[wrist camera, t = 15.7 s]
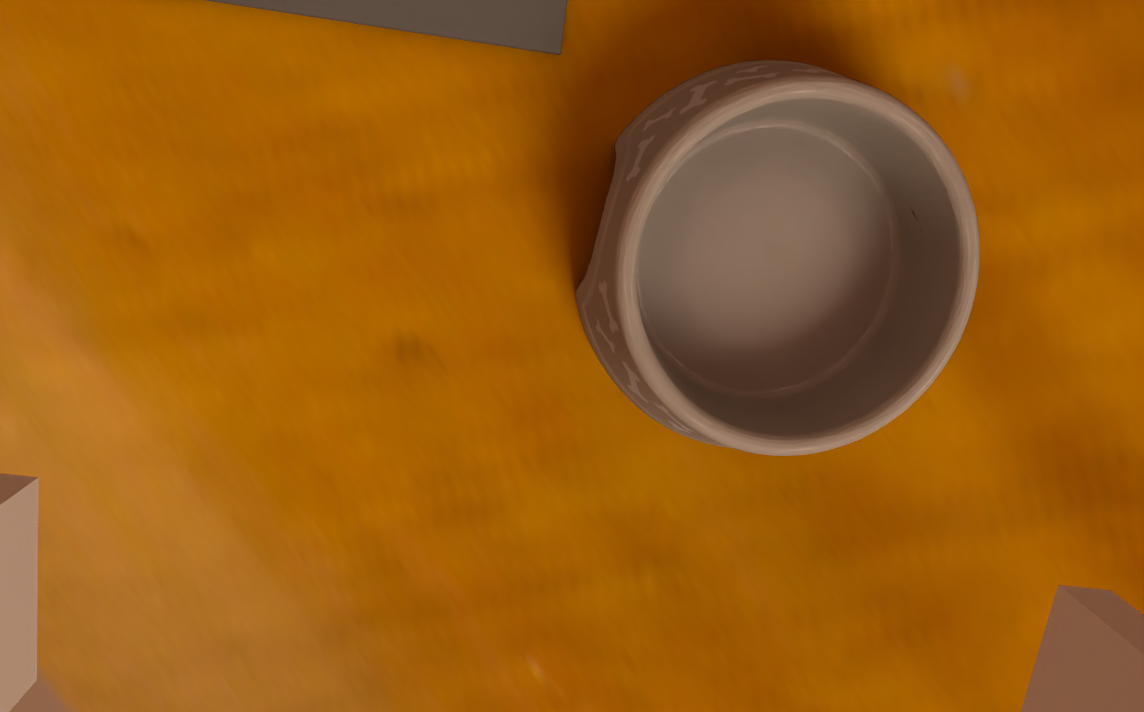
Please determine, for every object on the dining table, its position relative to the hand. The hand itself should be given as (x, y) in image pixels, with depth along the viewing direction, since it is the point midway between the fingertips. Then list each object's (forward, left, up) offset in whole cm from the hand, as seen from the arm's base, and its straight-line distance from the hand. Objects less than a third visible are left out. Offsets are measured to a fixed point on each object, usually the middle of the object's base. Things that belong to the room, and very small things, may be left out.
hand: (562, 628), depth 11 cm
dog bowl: (-13, -3, -31) cm, 33 cm away
